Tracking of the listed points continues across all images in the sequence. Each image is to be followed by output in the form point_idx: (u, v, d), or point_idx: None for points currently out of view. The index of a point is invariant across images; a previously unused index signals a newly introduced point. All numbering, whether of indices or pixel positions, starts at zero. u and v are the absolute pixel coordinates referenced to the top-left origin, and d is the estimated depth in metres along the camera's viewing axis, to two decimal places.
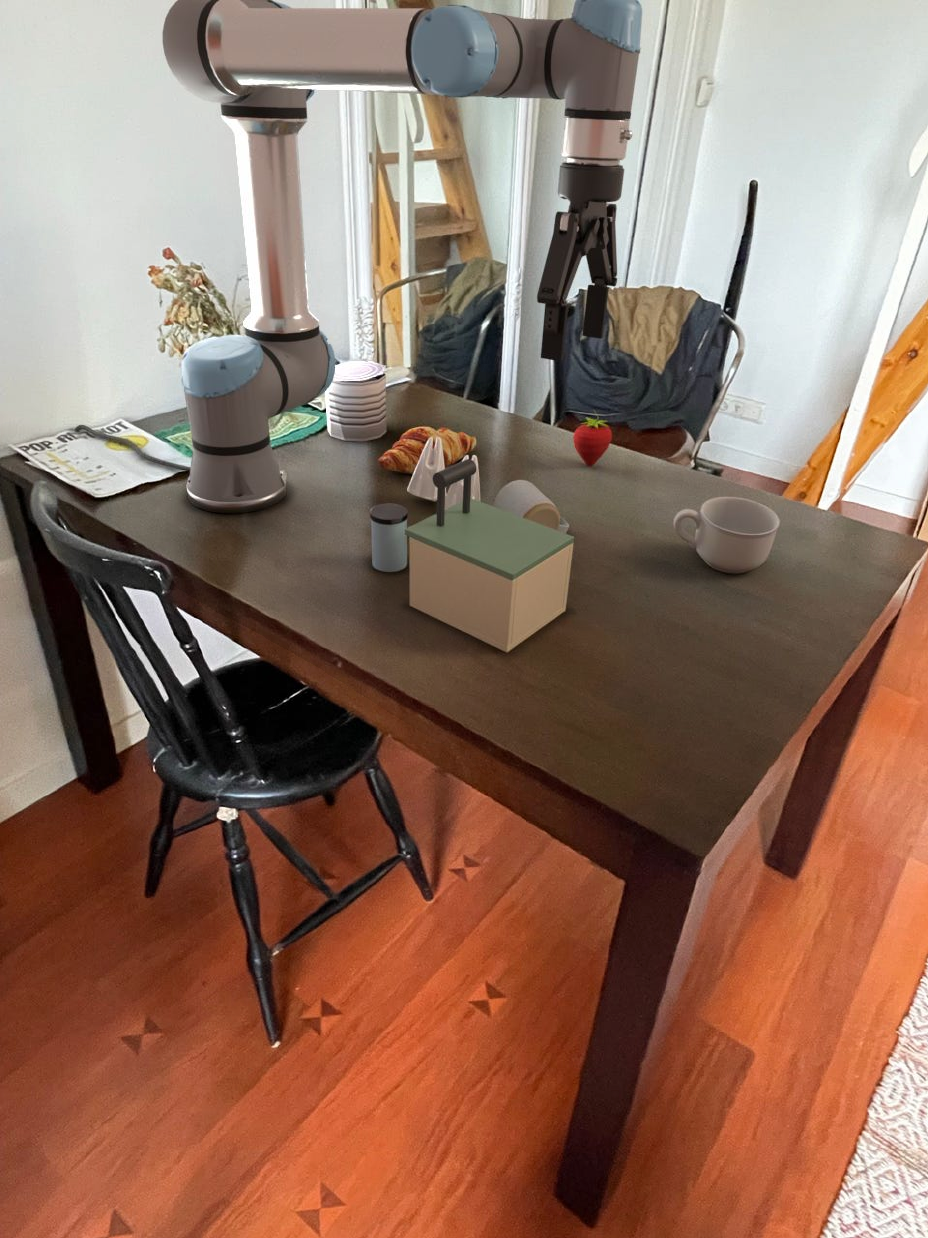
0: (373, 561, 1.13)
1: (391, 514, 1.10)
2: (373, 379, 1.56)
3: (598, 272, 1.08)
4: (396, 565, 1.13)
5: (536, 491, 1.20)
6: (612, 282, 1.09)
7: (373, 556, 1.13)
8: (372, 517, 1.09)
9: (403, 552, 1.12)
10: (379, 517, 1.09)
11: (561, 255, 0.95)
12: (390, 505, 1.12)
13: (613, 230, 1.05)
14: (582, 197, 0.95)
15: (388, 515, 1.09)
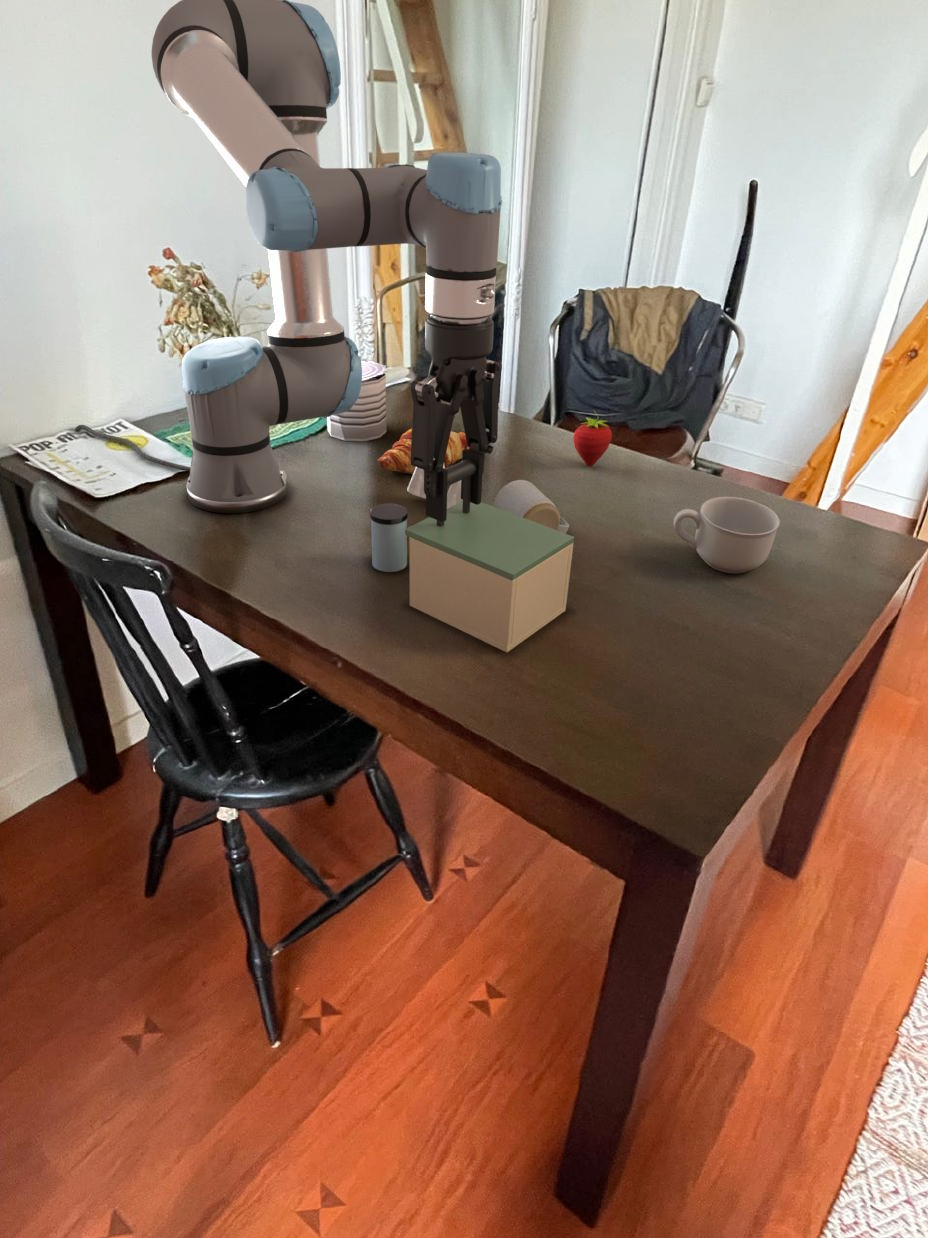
0: (373, 561, 1.13)
1: (391, 514, 1.10)
2: (373, 379, 1.56)
3: (472, 434, 1.00)
4: (396, 565, 1.13)
5: (536, 491, 1.20)
6: (487, 449, 1.01)
7: (373, 556, 1.13)
8: (372, 517, 1.09)
9: (403, 552, 1.12)
10: (379, 517, 1.09)
11: (423, 426, 0.91)
12: (390, 505, 1.12)
13: (495, 389, 0.98)
14: (441, 354, 0.89)
15: (388, 515, 1.09)
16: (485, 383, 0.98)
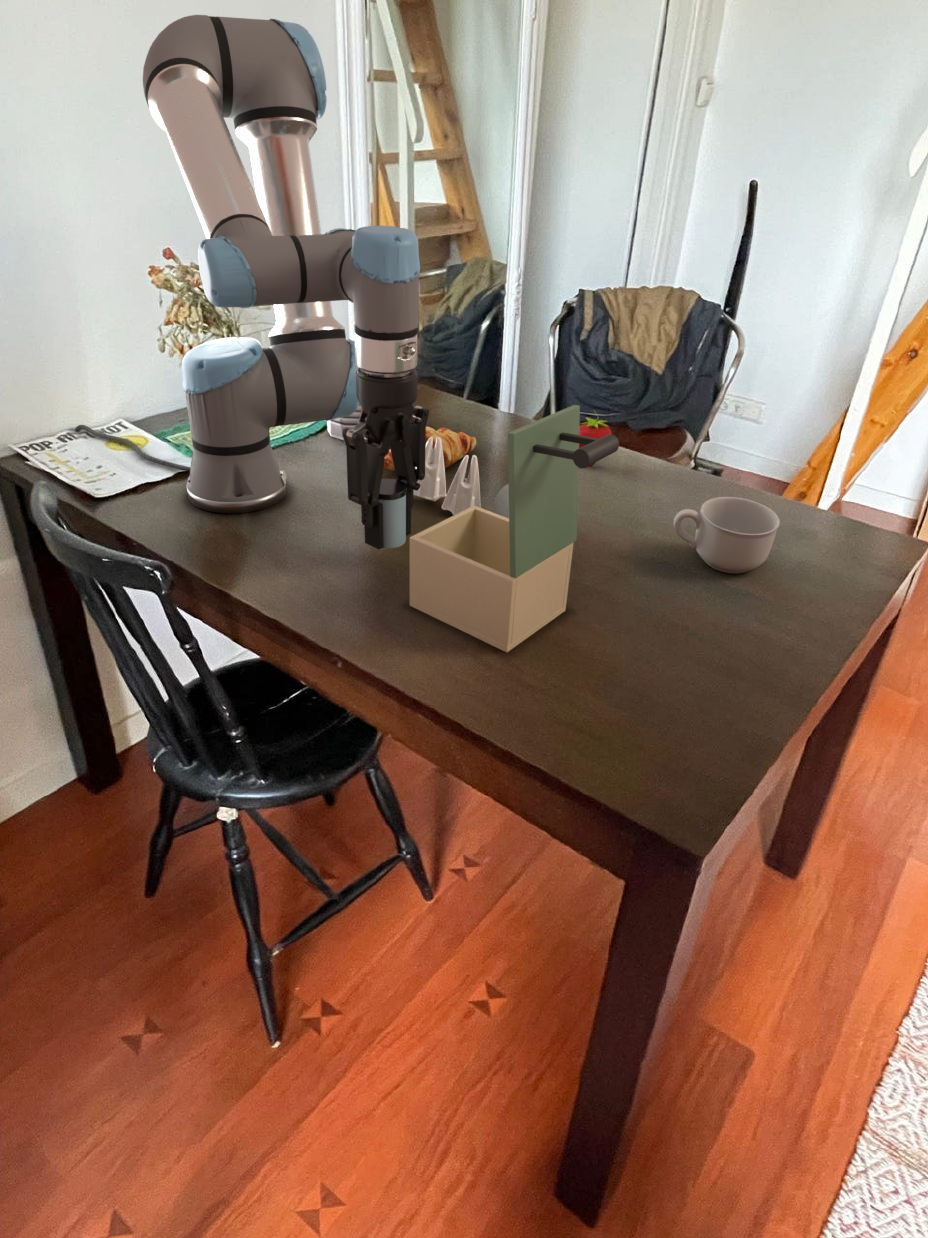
0: None
1: (390, 489, 1.08)
2: None
3: (401, 472, 1.10)
4: (395, 541, 1.11)
5: None
6: (414, 486, 1.11)
7: None
8: None
9: (402, 528, 1.11)
10: None
11: (356, 468, 1.02)
12: (389, 480, 1.10)
13: (422, 432, 1.08)
14: (369, 404, 0.99)
15: (387, 490, 1.08)
16: (413, 426, 1.08)
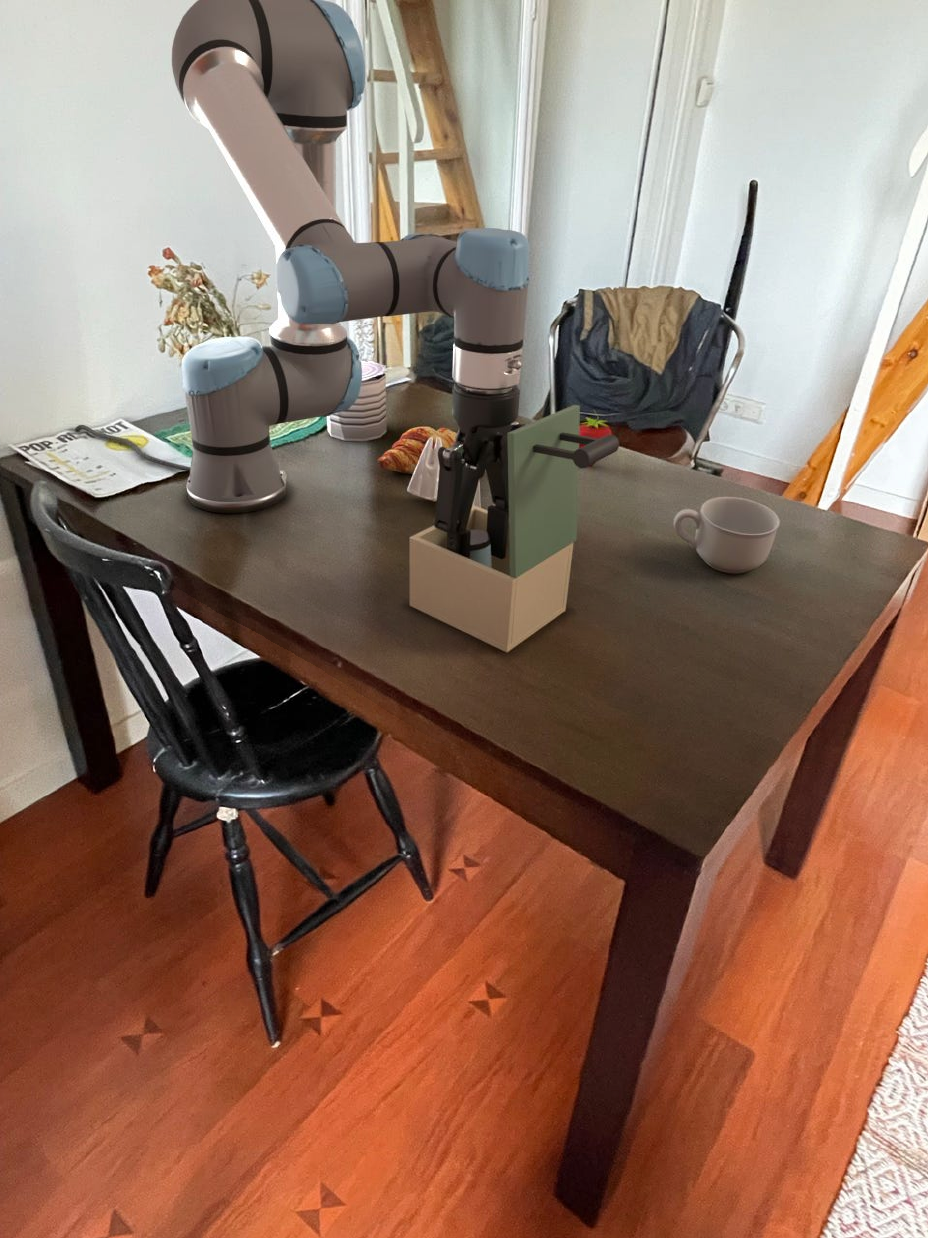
0: None
1: (474, 539, 1.02)
2: (373, 379, 1.56)
3: (498, 492, 1.01)
4: None
5: None
6: None
7: None
8: None
9: None
10: None
11: (449, 491, 0.93)
12: (471, 531, 1.04)
13: None
14: (468, 423, 0.91)
15: (471, 540, 1.02)
16: None
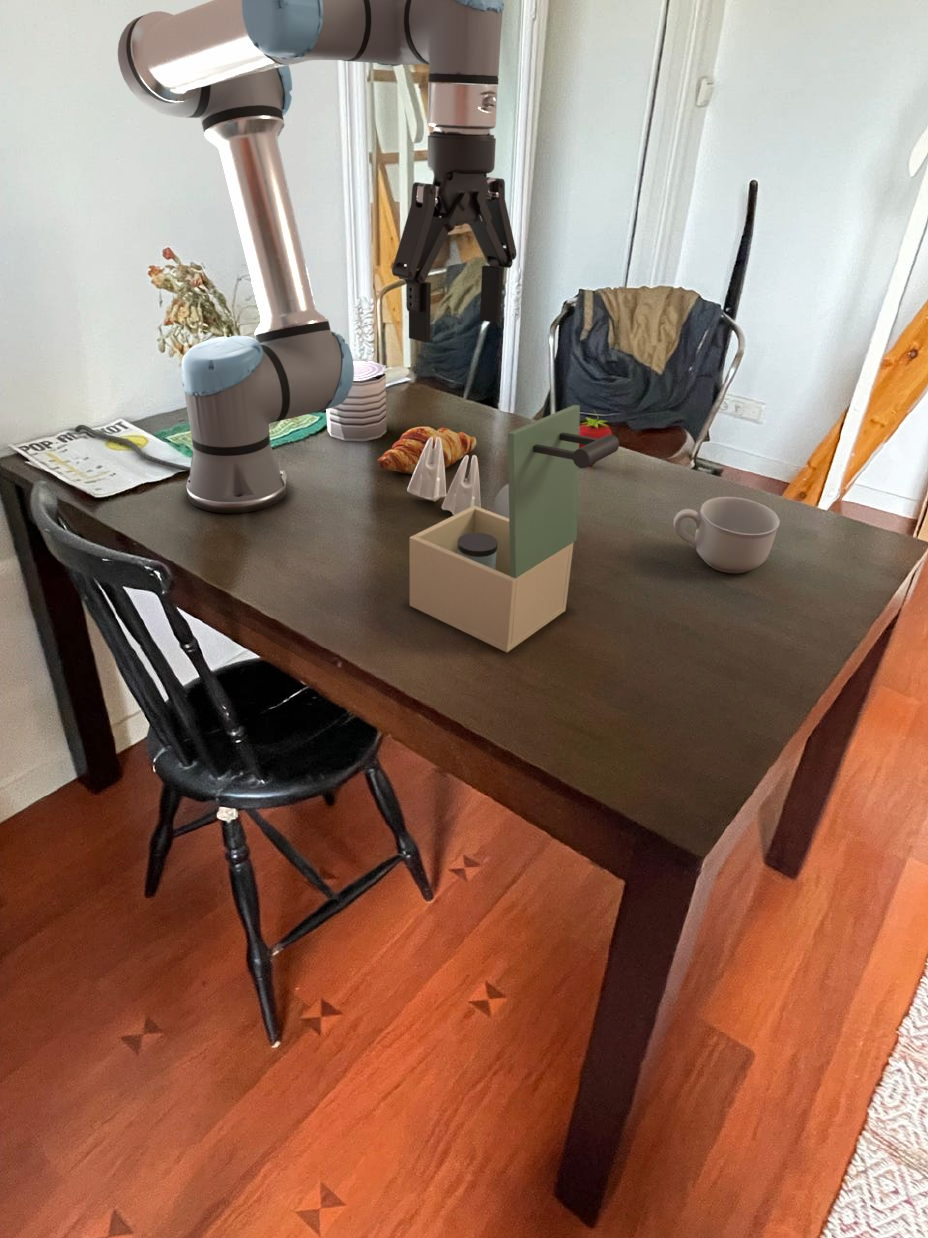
0: None
1: (481, 544, 1.02)
2: (373, 379, 1.56)
3: (489, 252, 1.02)
4: None
5: None
6: (506, 263, 1.02)
7: None
8: (461, 549, 1.01)
9: None
10: (469, 549, 1.01)
11: (416, 228, 0.90)
12: (477, 534, 1.04)
13: (503, 207, 0.99)
14: (443, 167, 0.90)
15: (478, 546, 1.01)
16: (492, 203, 0.99)
